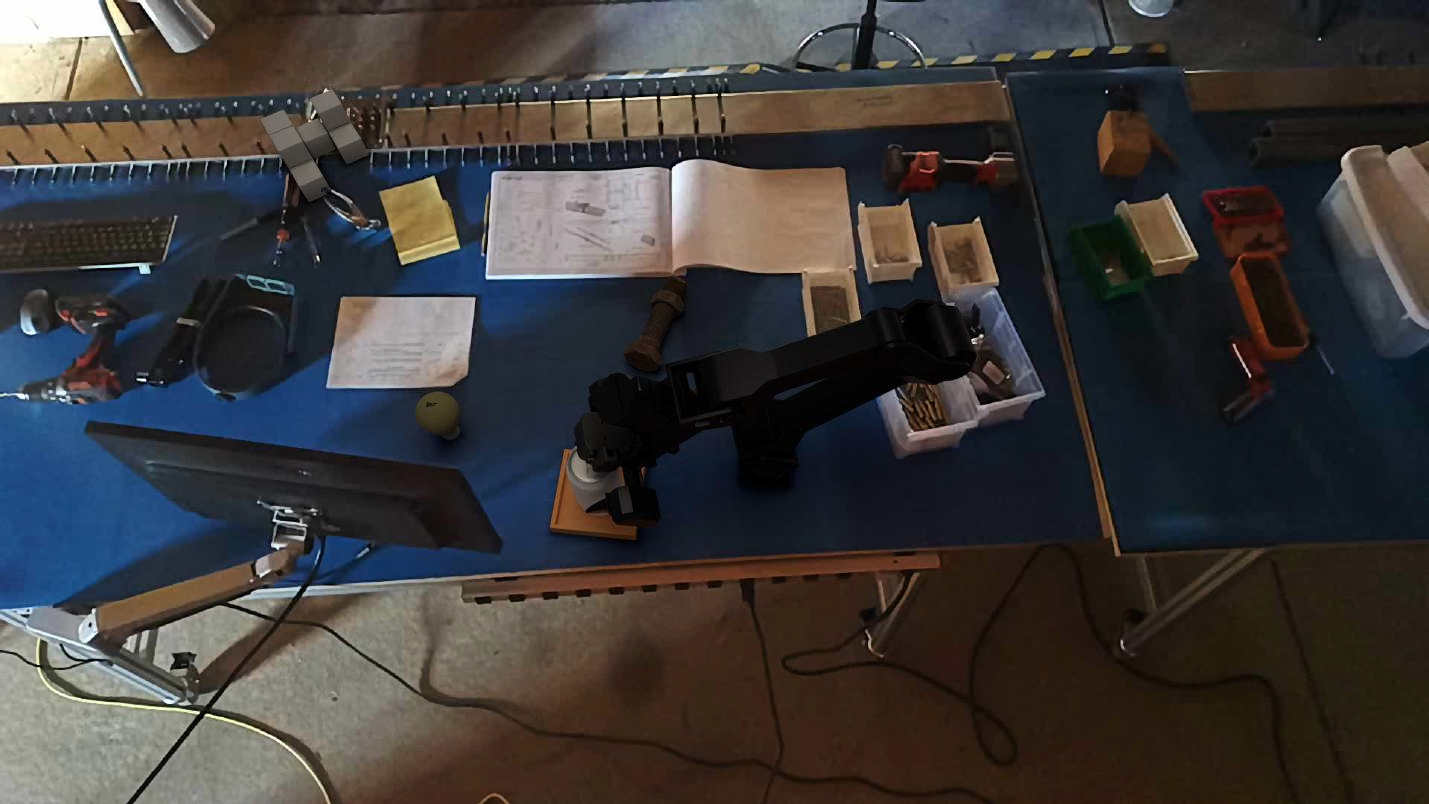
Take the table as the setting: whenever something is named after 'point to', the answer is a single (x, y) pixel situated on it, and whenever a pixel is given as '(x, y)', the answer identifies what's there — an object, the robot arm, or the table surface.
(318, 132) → the gray h shaped block
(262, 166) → the table surface
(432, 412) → the light bulb
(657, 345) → the bolt
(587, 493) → the can
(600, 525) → the tray
